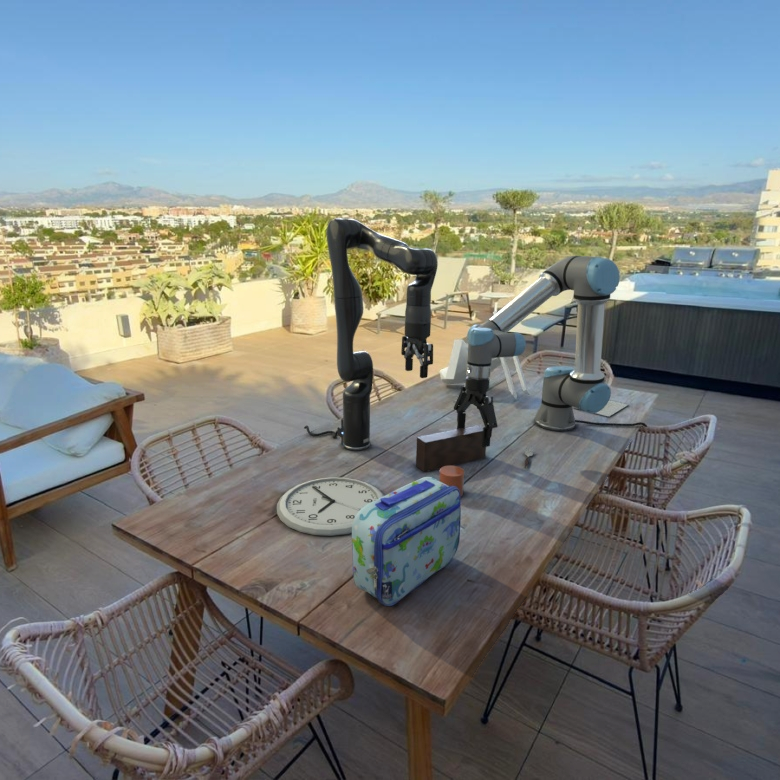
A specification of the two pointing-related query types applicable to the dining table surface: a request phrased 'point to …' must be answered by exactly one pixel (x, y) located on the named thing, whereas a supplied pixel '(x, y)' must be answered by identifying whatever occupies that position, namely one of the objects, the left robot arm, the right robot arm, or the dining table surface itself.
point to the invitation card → (611, 408)
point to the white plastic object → (459, 367)
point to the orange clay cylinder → (452, 477)
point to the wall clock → (325, 505)
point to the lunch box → (405, 538)
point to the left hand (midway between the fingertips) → (416, 374)
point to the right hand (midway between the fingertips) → (472, 438)
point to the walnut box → (449, 448)
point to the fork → (528, 455)
